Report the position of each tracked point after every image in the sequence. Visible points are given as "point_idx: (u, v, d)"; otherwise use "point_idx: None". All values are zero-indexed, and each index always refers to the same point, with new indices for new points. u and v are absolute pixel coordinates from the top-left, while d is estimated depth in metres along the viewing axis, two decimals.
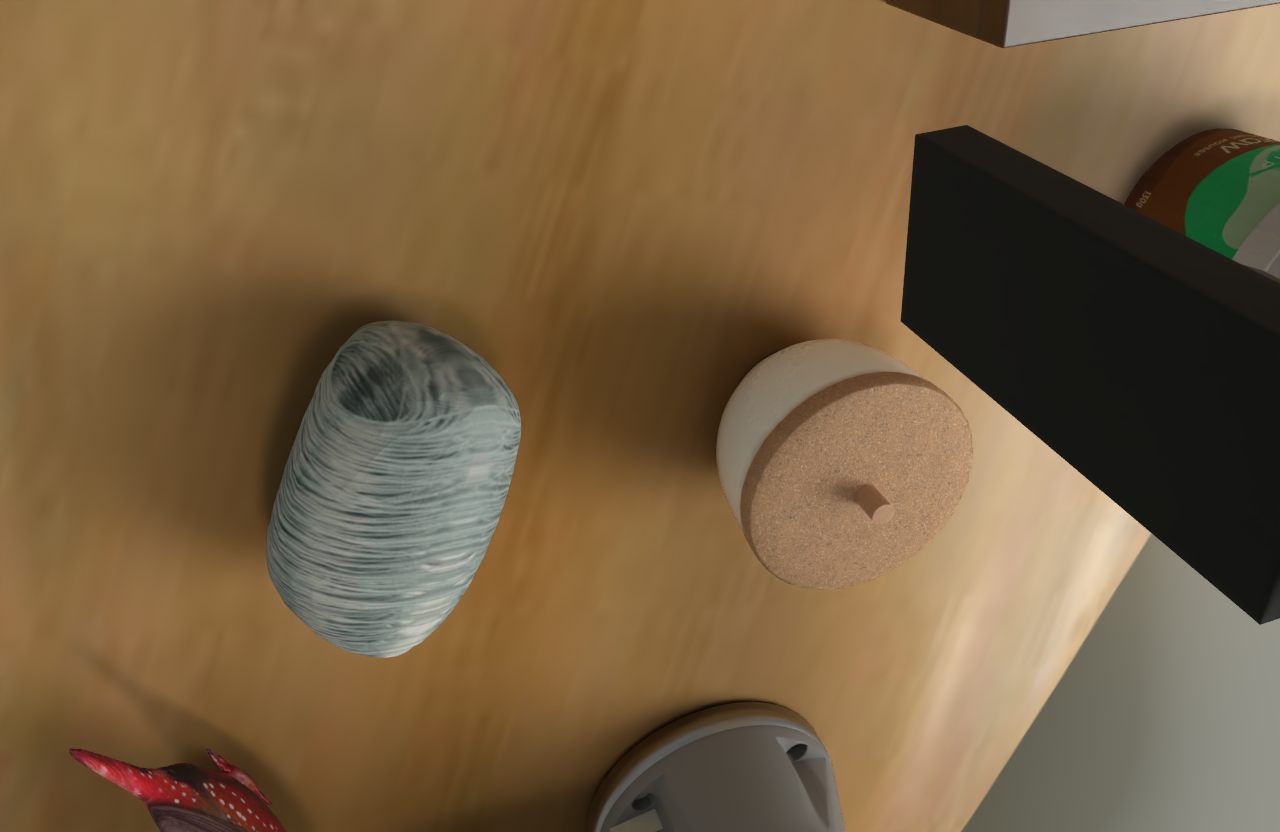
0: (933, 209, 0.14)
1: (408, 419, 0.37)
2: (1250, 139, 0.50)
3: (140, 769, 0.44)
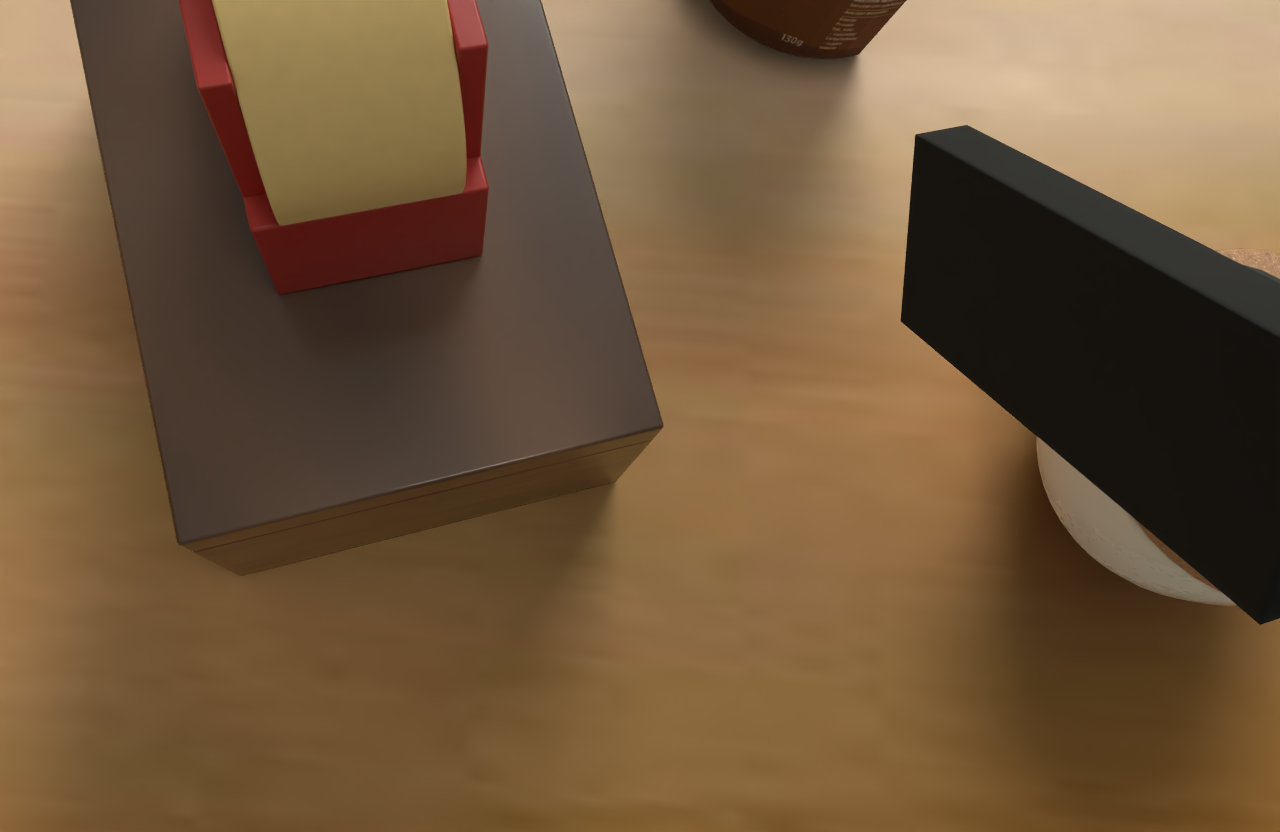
0: (933, 209, 0.14)
1: None
2: None
3: None
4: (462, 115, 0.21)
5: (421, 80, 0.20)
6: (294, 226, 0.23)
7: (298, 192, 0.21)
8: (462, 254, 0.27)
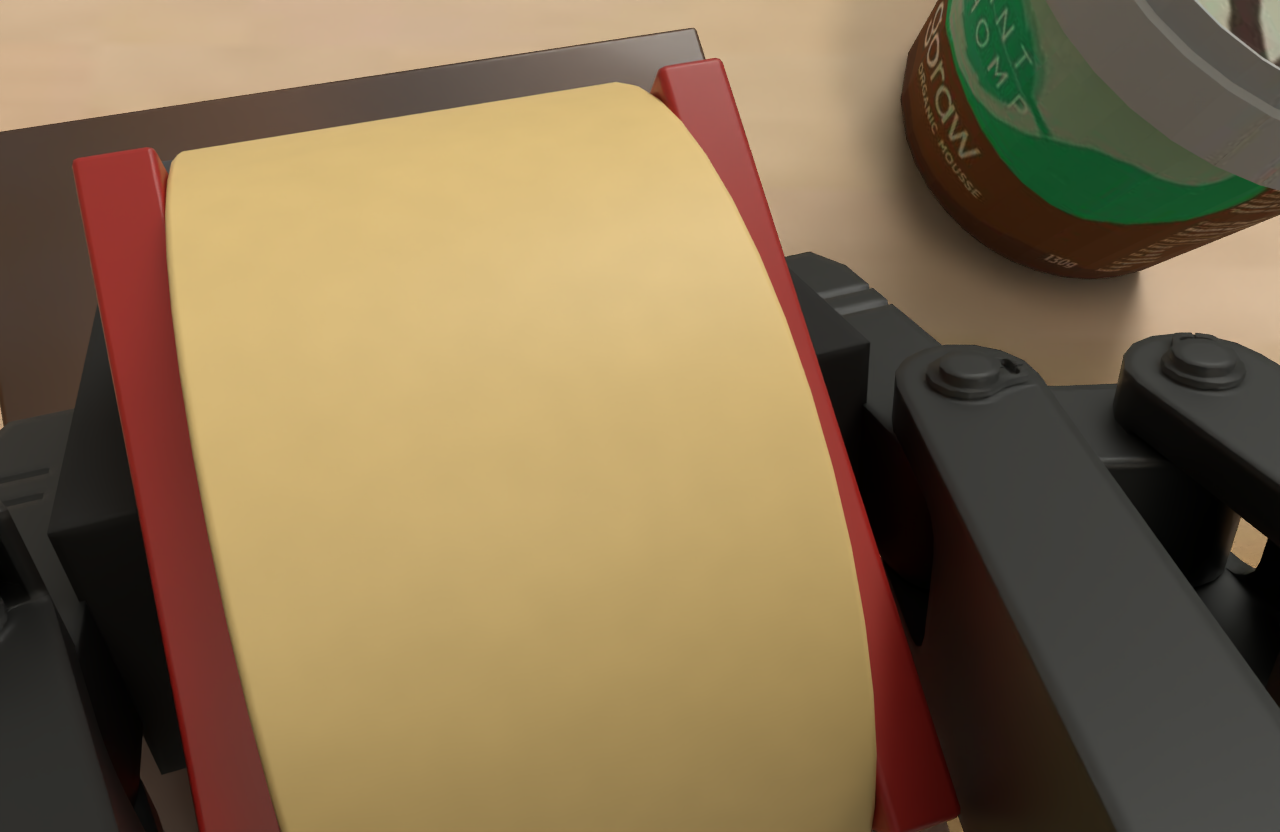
0: None
1: None
2: (939, 101, 0.26)
3: None
4: None
5: None
6: None
7: None
8: None
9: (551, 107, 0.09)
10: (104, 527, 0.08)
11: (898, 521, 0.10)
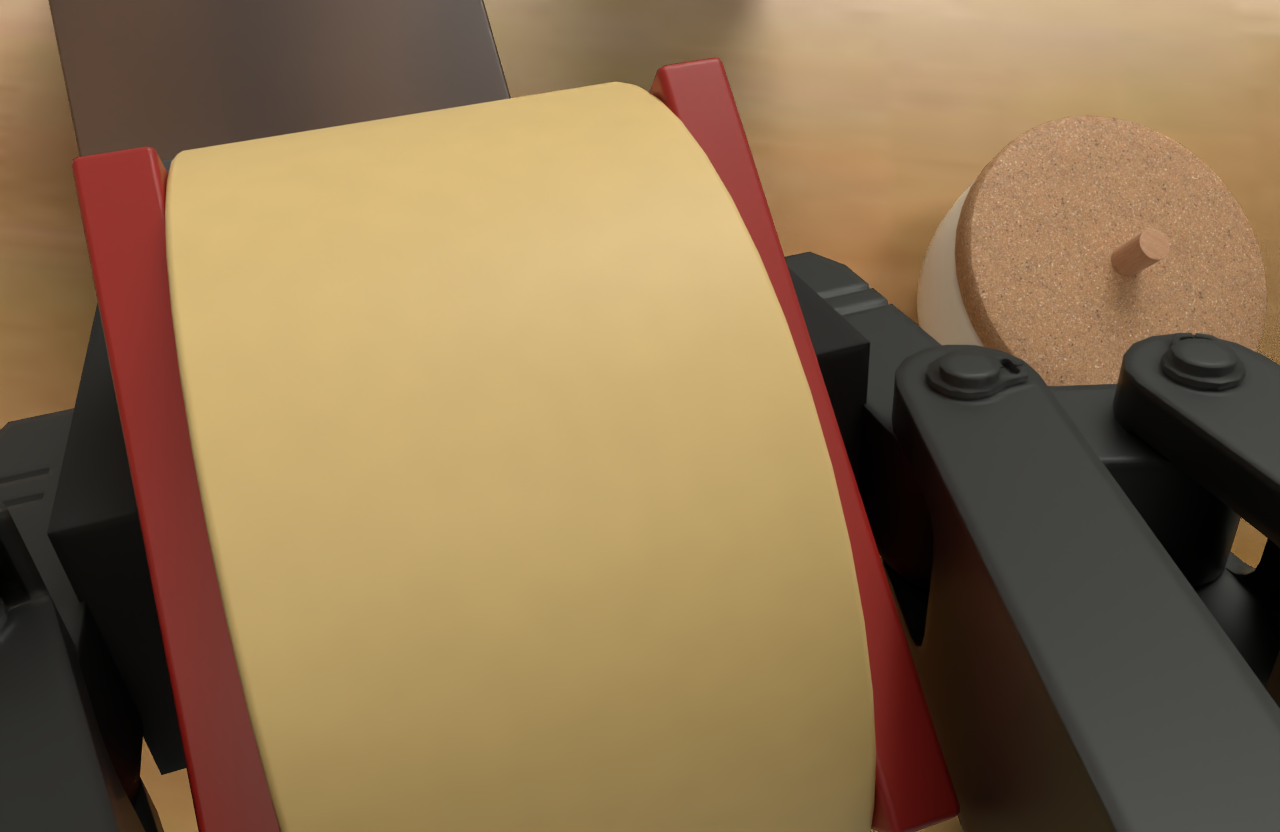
0: None
1: None
2: None
3: None
4: None
5: None
6: None
7: None
8: None
9: (551, 105, 0.09)
10: (104, 526, 0.08)
11: (898, 522, 0.10)
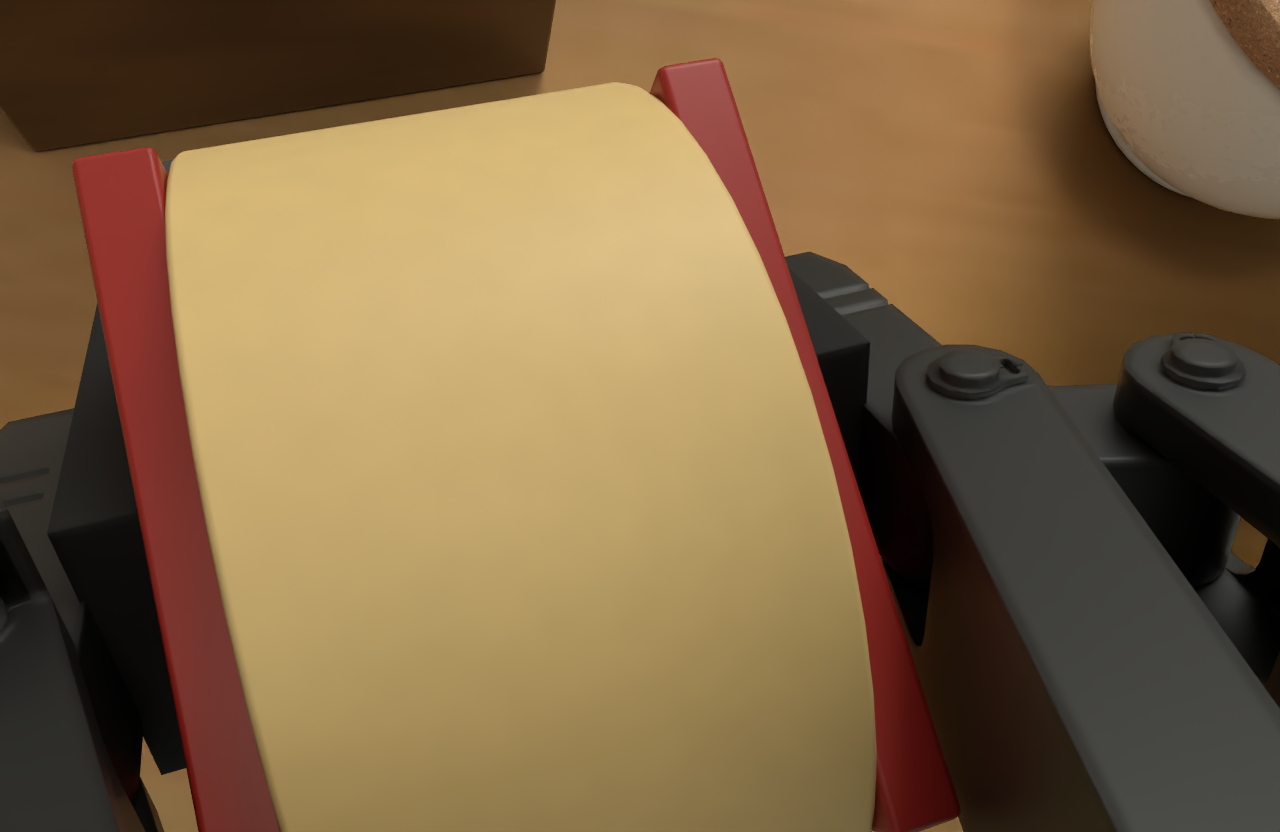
0: None
1: None
2: None
3: None
4: None
5: None
6: None
7: None
8: None
9: (551, 107, 0.09)
10: (105, 526, 0.08)
11: (898, 521, 0.10)
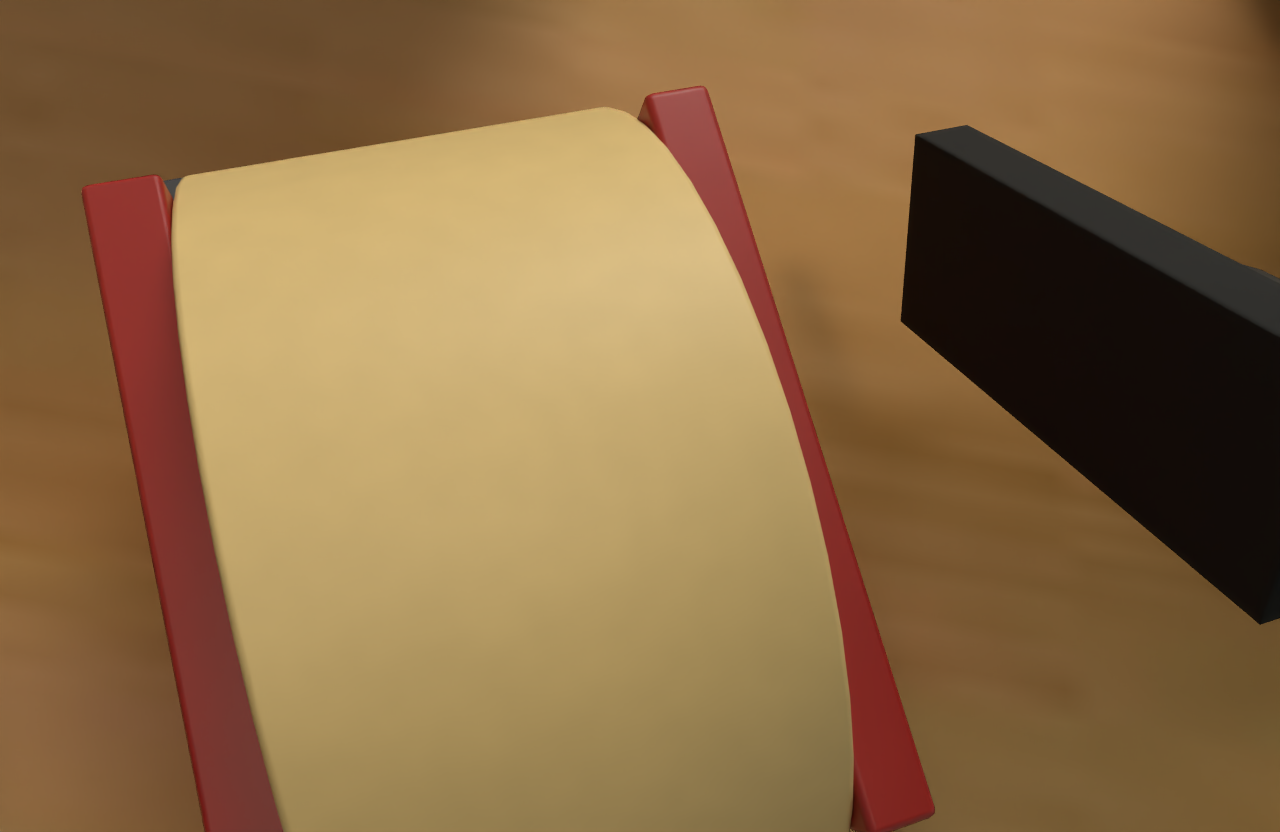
0: (933, 209, 0.14)
1: None
2: None
3: None
4: None
5: None
6: None
7: None
8: None
9: (542, 132, 0.09)
10: None
11: None
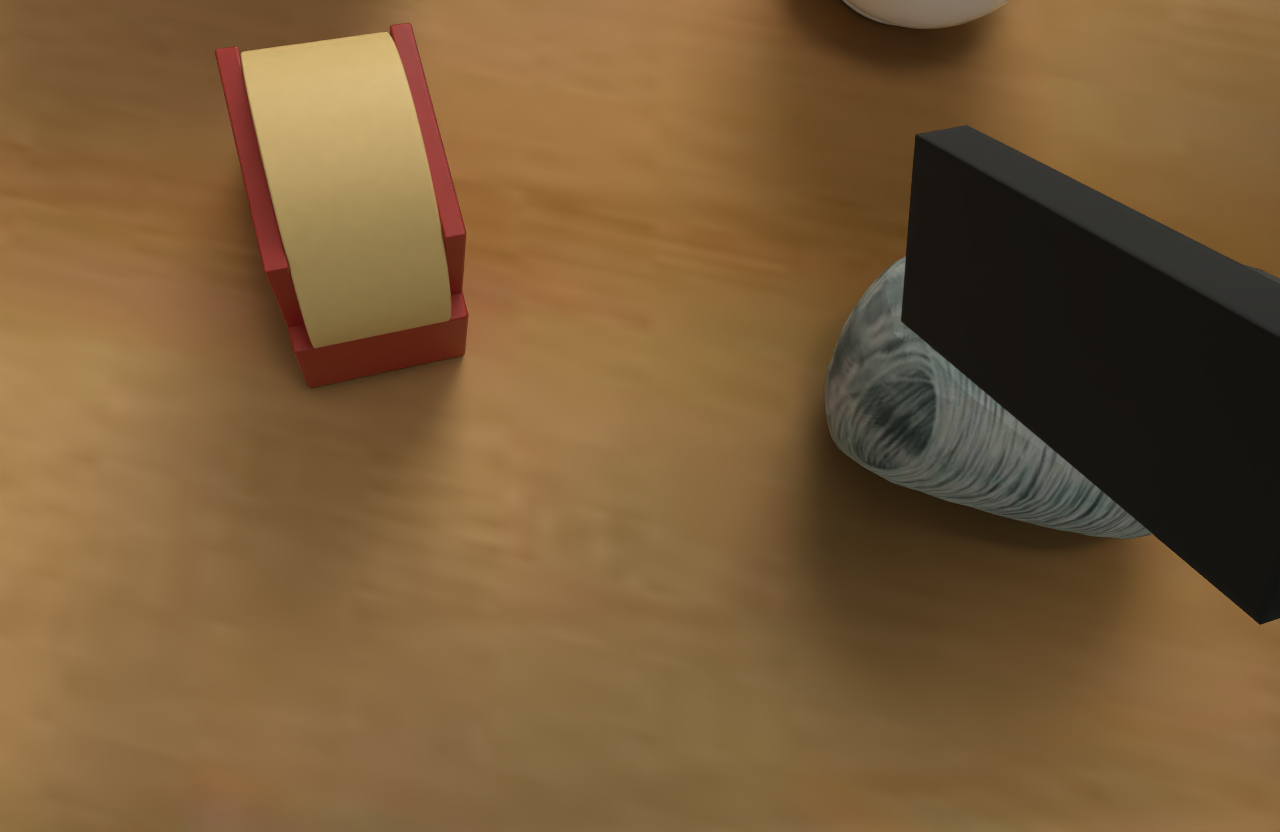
0: (933, 209, 0.14)
1: (929, 369, 0.31)
2: None
3: None
4: (448, 277, 0.29)
5: (418, 257, 0.28)
6: (325, 348, 0.31)
7: (330, 330, 0.30)
8: (449, 355, 0.36)
9: (357, 37, 0.29)
10: None
11: None
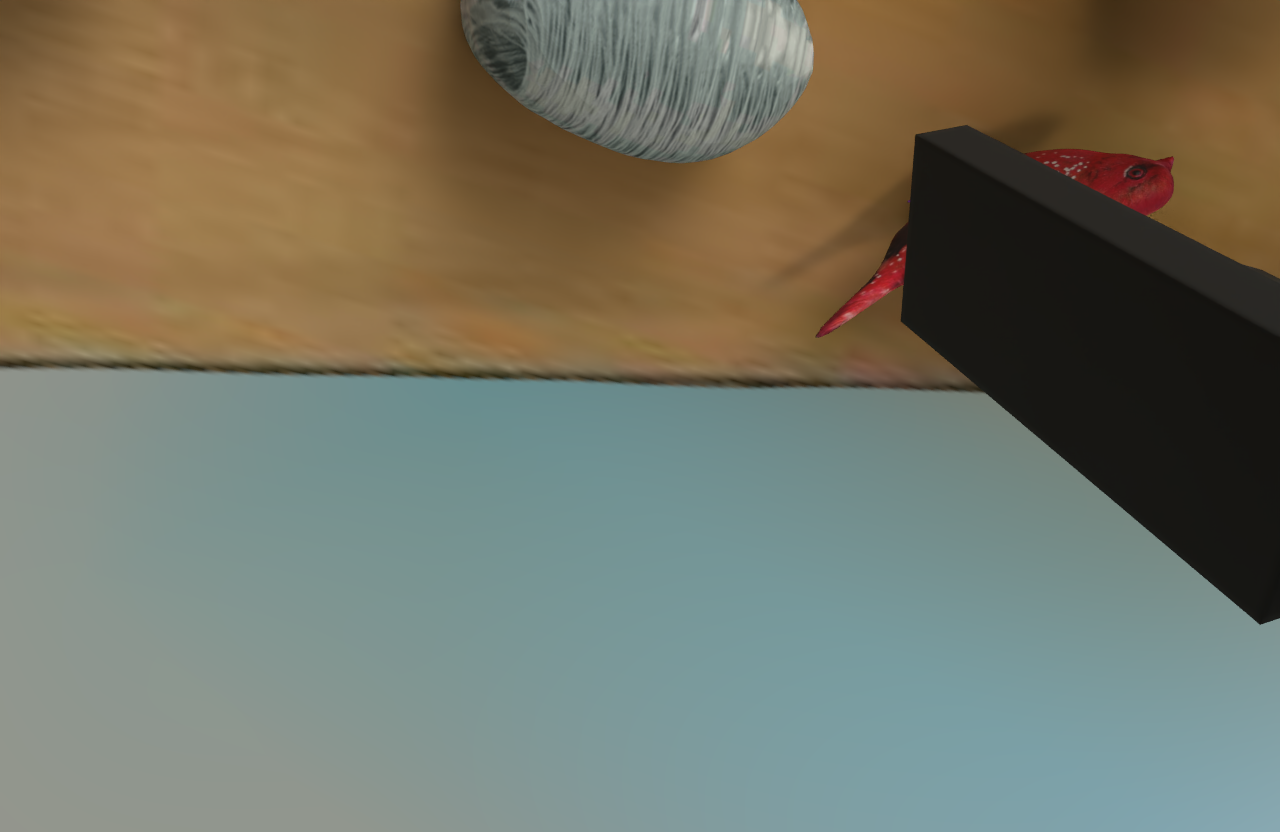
0: (933, 209, 0.14)
1: (524, 39, 0.37)
2: None
3: (868, 282, 0.49)
4: None
5: None
6: None
7: None
8: None
9: None
10: None
11: None
